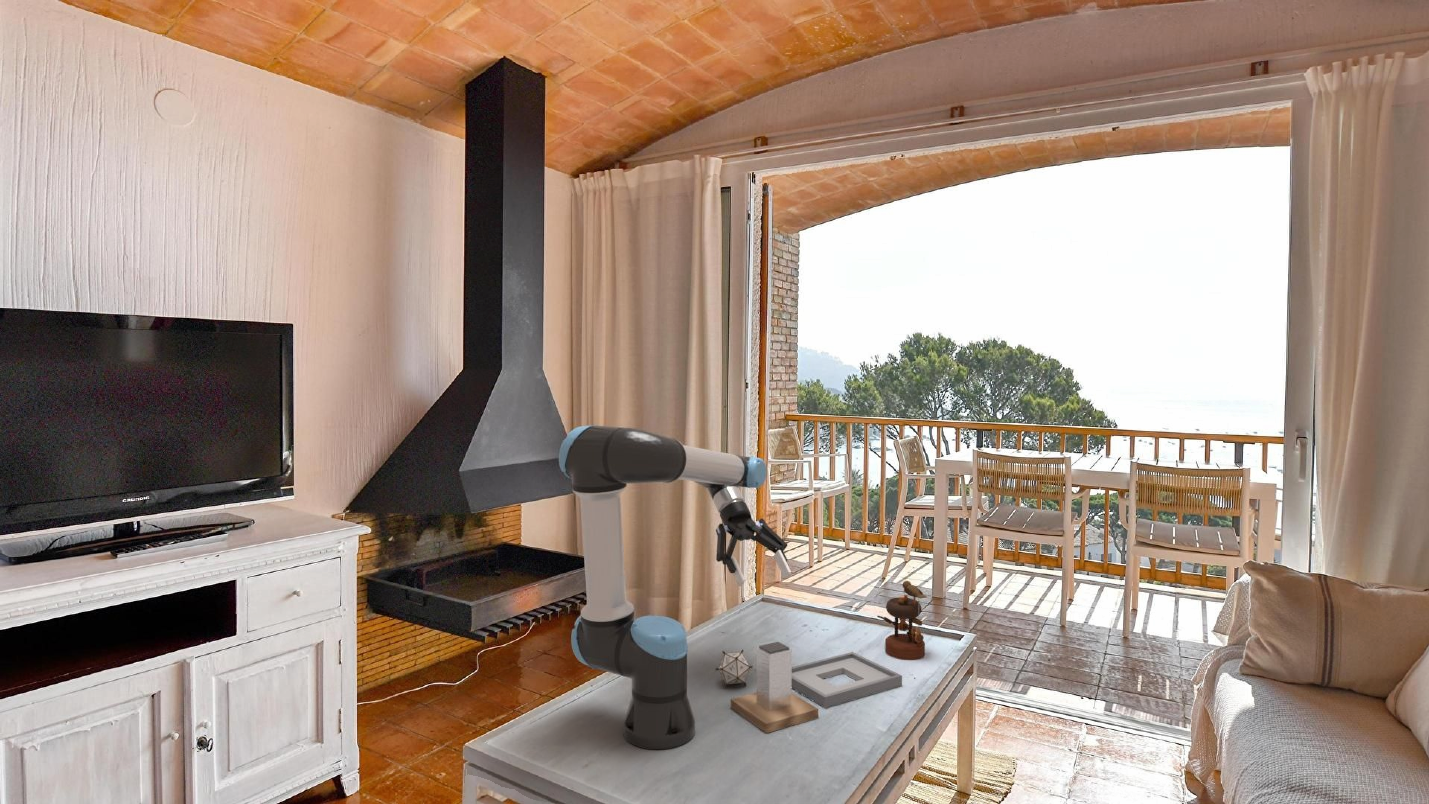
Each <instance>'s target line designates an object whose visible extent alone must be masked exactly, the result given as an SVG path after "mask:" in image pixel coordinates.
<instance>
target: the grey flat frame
mask: <svg viewBox="0 0 1429 804" xmlns="http://www.w3.org/2000/svg"><path fill="white" fill-rule="evenodd" d="M842 674H843V675H845V676H847V677H849V678H851V679H853V680H854V679H855V681H852V682H849V683H848V682H847V683H845V684H842V685H838V686H836V685H834V684H832V683H830V682H829V681H826V680H825V679H827V677H828V678H831V677H830V676H832V677H836V676H840V675H842ZM824 678H825V679H824ZM902 686H903V675H901V674H900V673H898V672H895V671H893V670H891V669H889V668H887V667H885V666H883V665H881V664H879V663H876V662H875V661H872V660H870V659H869V658H866V657H863V656H862V655H859V654H858V653H856V652H853V651H850V652H847V653H842V654H839V655H835V656H830V657H827V658H823V659H818V660H815V661H814V660H813V661H810V662H806V663H803V664H798V665H795V666H792V680H791V687H792V688H793V689H792V688H791V689H792V690H794V691H795V692H797V691H798V693H800V695H802V694H803V695H802V696H804V697H806V698H807V697H808V698H807V699H809V700H811V701H812V700H813V701H812V702H814V703H816V704H817V703H818V705H819V706H820V707H822V706H823V707H822V708H824V709H827V708H830V707H834V706H837V705H841V704H844V703H848V702H850V701H854V700H857V699H858V700H859V699H861V698H865V697H868V696H872V695H875V694H878V693H879V694H880V693H881V692H884V690H885V691H889V690H892V689H895V687H896V688H898V687H902Z"/></svg>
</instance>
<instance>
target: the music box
mask: <svg viewBox="0 0 1429 804" xmlns="http://www.w3.org/2000/svg"><path fill="white" fill-rule="evenodd" d="M902 588H903V593H905V594H903V597H902V596H899V597H892V598H889V600H887V602H886V604H885V609H886V612H887V613H888V615H889V616H891V617H892V618H893V617H894V621H893V620H891V619H890V618H888V617H886V616H882V615H876V616H877V618H879V619H882V620H883V621H884V622H886V623H888V624H889V625H891V624H892V626H894V633H893V634H890V635H888V636H887V637H886V638H885V639H884V641H885V643H884V647H885V648H884V649H885V651H884V652H885V654H886V655H887V656H889V657H892V658H893V659H898V660H904V661H917V660H920V659H923V658H924V657H925V655H926V653H925V651H926V643H925V641H924V639H925V636H924V635H923V634H922V633H921V630H920V628H919V627H921V626H923V620H921V619H920V615H921V613H922V605H921V603H920V599H926V598H928V596H927V595H926V594H924V593H923V592H922V590H920V589H919V587H918V586H916V585H913V584H912V582H911V581H909V580H904V581H903V582H902ZM908 596H909V597H910V596H911V597H913V598H911V597H910V598H909V597H908ZM916 598H917V599H918V600H916ZM906 620H908V623H907V622H906ZM913 624H915V625H918V628H917V627H916V626H913ZM899 631H900V632H901V631H903V632H906V633H899Z"/></svg>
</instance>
